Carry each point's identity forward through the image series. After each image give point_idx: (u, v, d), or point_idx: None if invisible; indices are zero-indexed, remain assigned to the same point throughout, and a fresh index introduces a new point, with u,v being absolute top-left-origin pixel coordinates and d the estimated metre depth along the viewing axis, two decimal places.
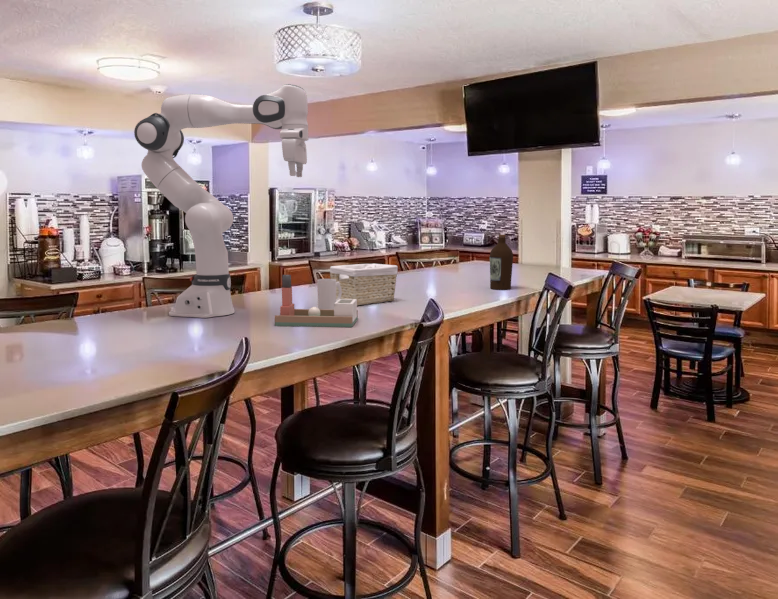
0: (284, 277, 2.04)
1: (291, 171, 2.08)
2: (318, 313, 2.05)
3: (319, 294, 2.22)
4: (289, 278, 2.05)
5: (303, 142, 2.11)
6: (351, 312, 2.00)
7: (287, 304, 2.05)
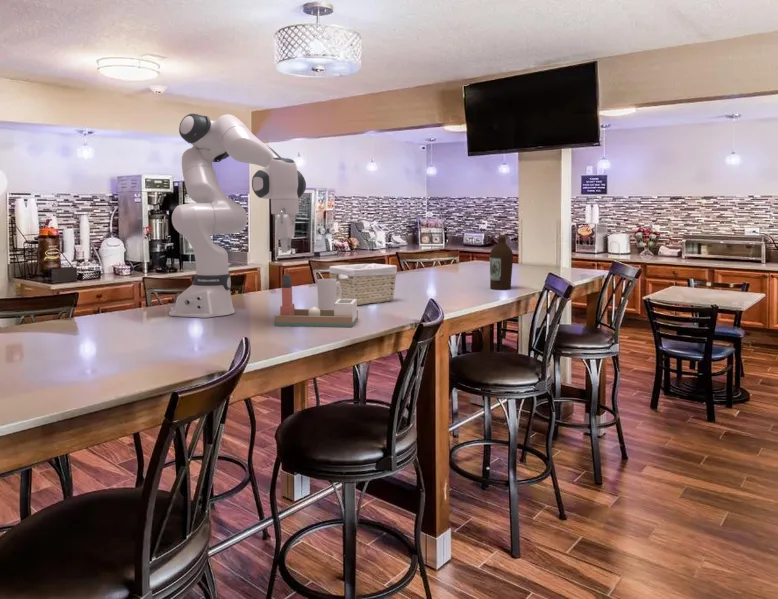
0: (284, 277, 2.04)
1: None
2: (318, 313, 2.05)
3: (319, 294, 2.22)
4: (289, 278, 2.05)
5: None
6: (351, 312, 2.00)
7: (287, 304, 2.05)
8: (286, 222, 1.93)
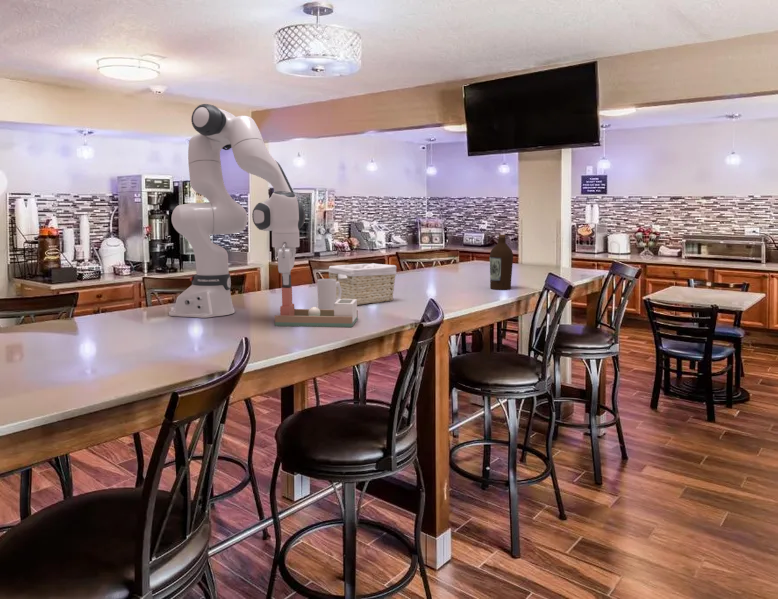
0: None
1: None
2: (318, 313, 2.05)
3: (319, 294, 2.22)
4: (289, 278, 2.05)
5: None
6: (351, 312, 2.00)
7: (287, 304, 2.05)
8: (288, 257, 1.95)
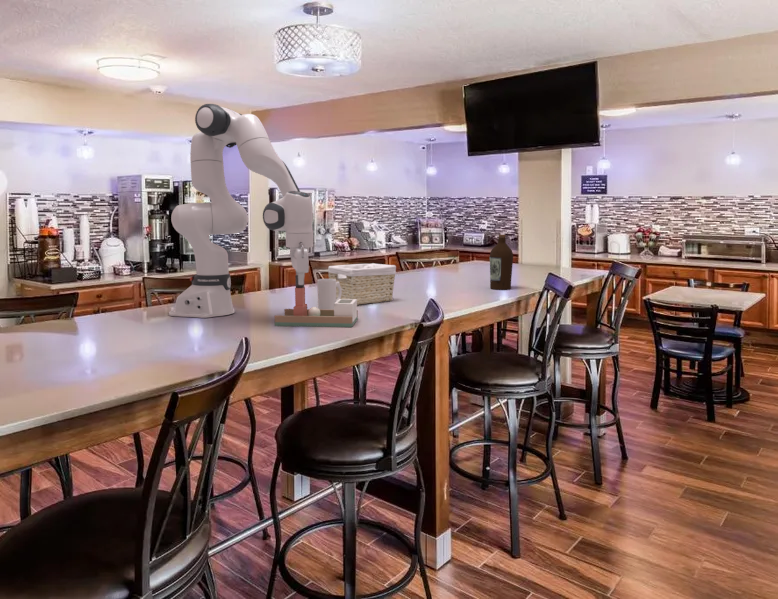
0: (297, 277, 2.04)
1: None
2: (318, 313, 2.05)
3: (319, 294, 2.22)
4: None
5: None
6: (351, 312, 2.00)
7: (300, 304, 2.04)
8: (307, 257, 1.95)
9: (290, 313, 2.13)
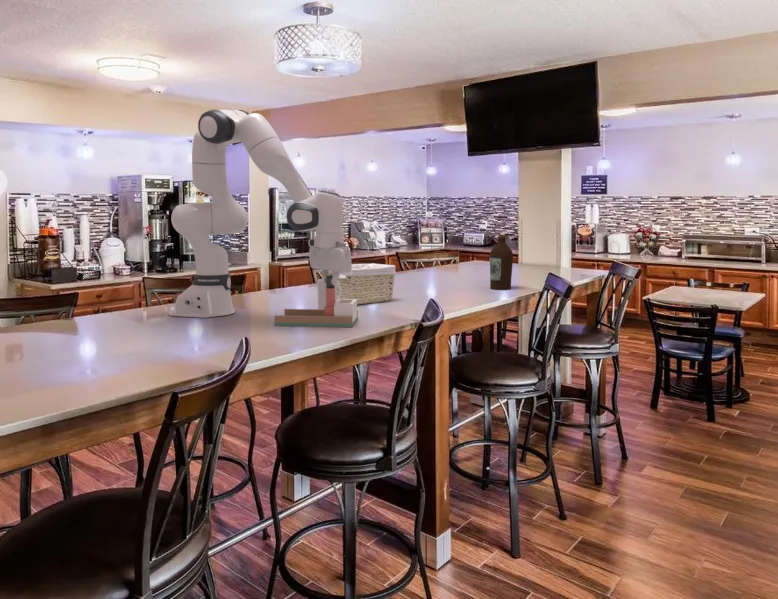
0: (328, 277, 2.03)
1: None
2: None
3: (319, 294, 2.22)
4: None
5: (321, 250, 2.02)
6: (351, 312, 2.00)
7: (331, 305, 2.04)
8: (350, 256, 1.97)
9: (290, 313, 2.13)
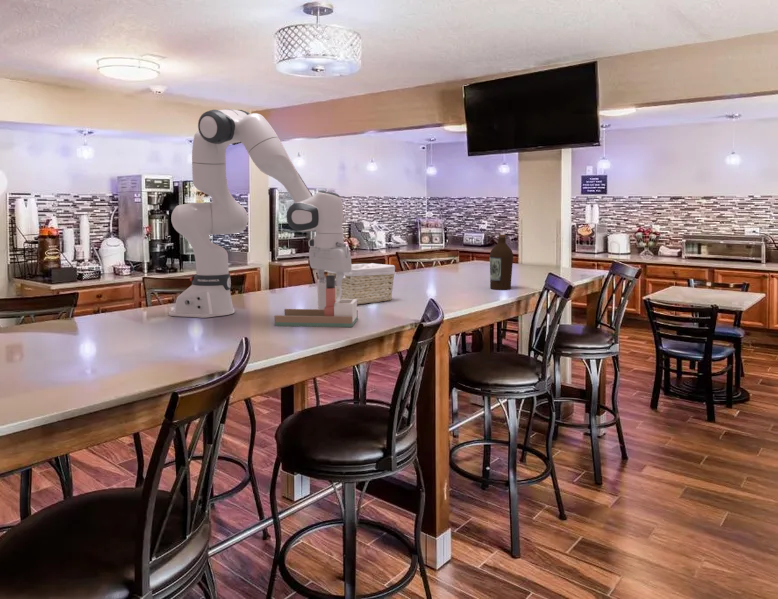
0: (328, 277, 2.03)
1: None
2: None
3: (319, 294, 2.22)
4: (333, 279, 2.03)
5: (321, 250, 2.02)
6: (351, 312, 2.00)
7: (331, 305, 2.04)
8: (350, 256, 1.96)
9: (290, 313, 2.13)
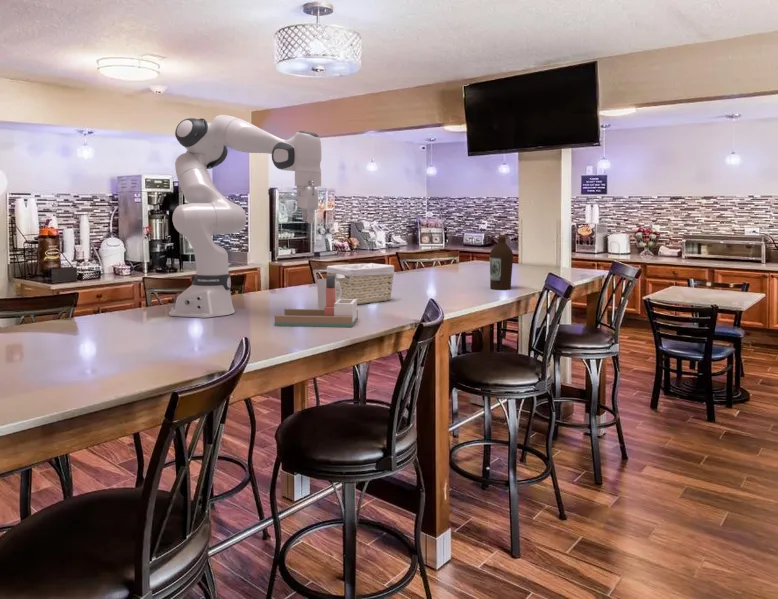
0: (328, 277, 2.03)
1: None
2: None
3: (319, 294, 2.22)
4: (333, 279, 2.03)
5: None
6: (351, 312, 2.00)
7: (331, 305, 2.04)
8: (317, 194, 2.03)
9: (290, 313, 2.13)
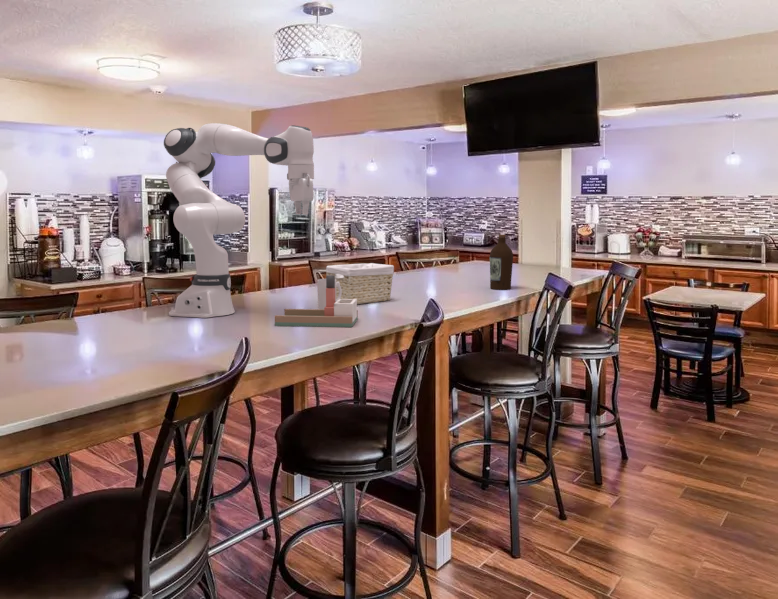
0: (328, 277, 2.03)
1: None
2: None
3: (319, 294, 2.22)
4: (333, 279, 2.03)
5: (292, 181, 2.15)
6: (351, 312, 2.00)
7: (331, 305, 2.04)
8: (312, 185, 2.08)
9: (290, 313, 2.13)
